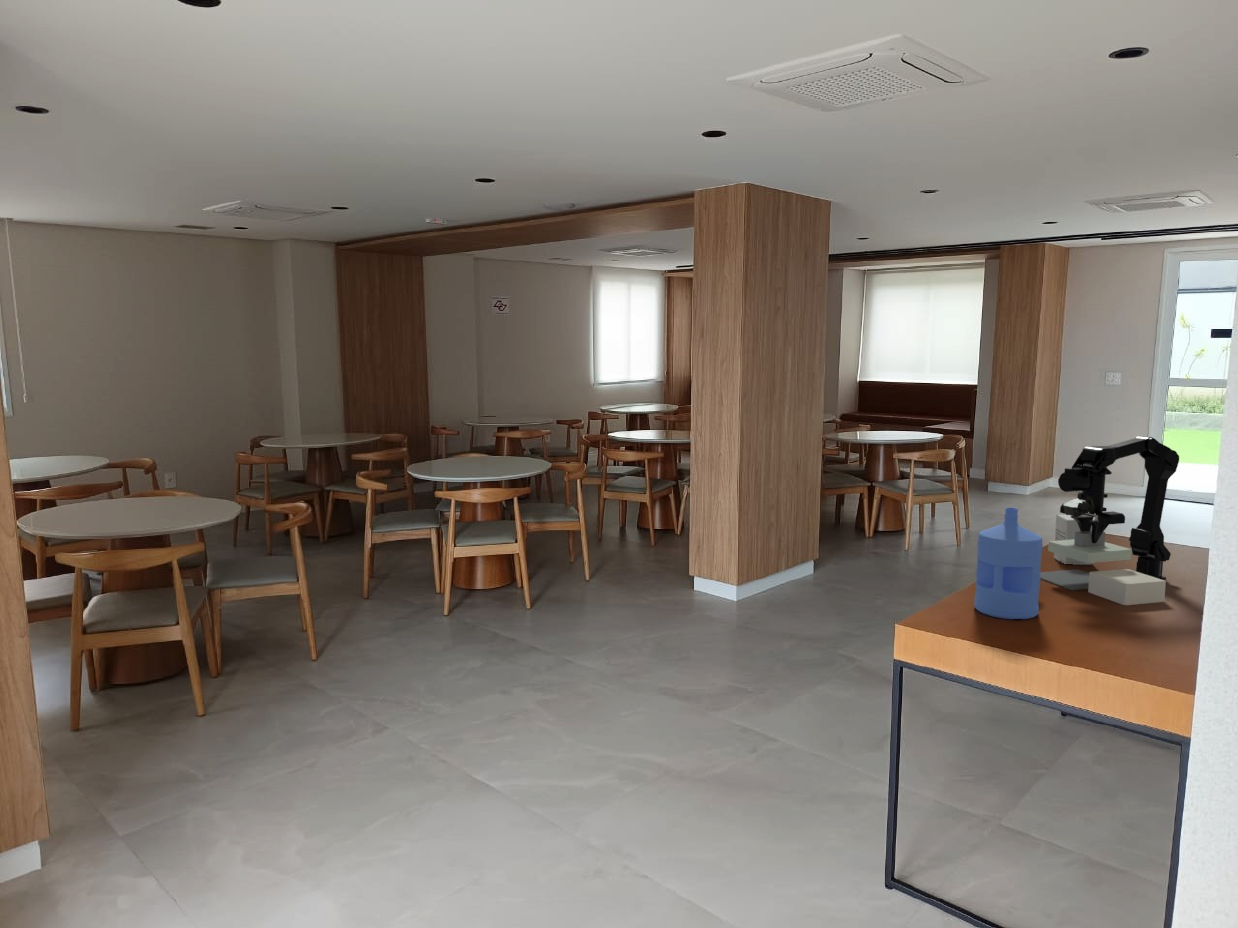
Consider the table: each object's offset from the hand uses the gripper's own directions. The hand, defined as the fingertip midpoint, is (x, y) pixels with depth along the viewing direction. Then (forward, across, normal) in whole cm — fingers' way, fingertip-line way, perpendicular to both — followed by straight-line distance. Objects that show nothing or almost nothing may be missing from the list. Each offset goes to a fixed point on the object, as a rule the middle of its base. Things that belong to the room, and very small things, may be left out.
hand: (1089, 541), depth 246 cm
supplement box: (+13, -23, +16) cm, 31 cm away
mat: (+13, -5, 0) cm, 14 cm away
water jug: (+13, +15, -41) cm, 45 cm away
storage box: (+13, +14, 0) cm, 19 cm away
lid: (+4, 0, 0) cm, 4 cm away
